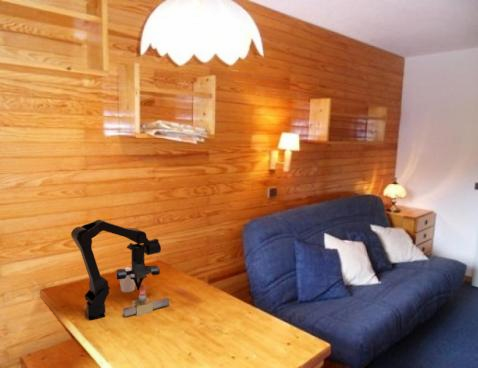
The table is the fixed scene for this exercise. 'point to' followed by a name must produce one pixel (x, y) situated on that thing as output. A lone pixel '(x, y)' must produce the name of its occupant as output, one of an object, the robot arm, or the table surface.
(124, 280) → the white cup
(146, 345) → the table surface
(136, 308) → the valve
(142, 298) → the lever
